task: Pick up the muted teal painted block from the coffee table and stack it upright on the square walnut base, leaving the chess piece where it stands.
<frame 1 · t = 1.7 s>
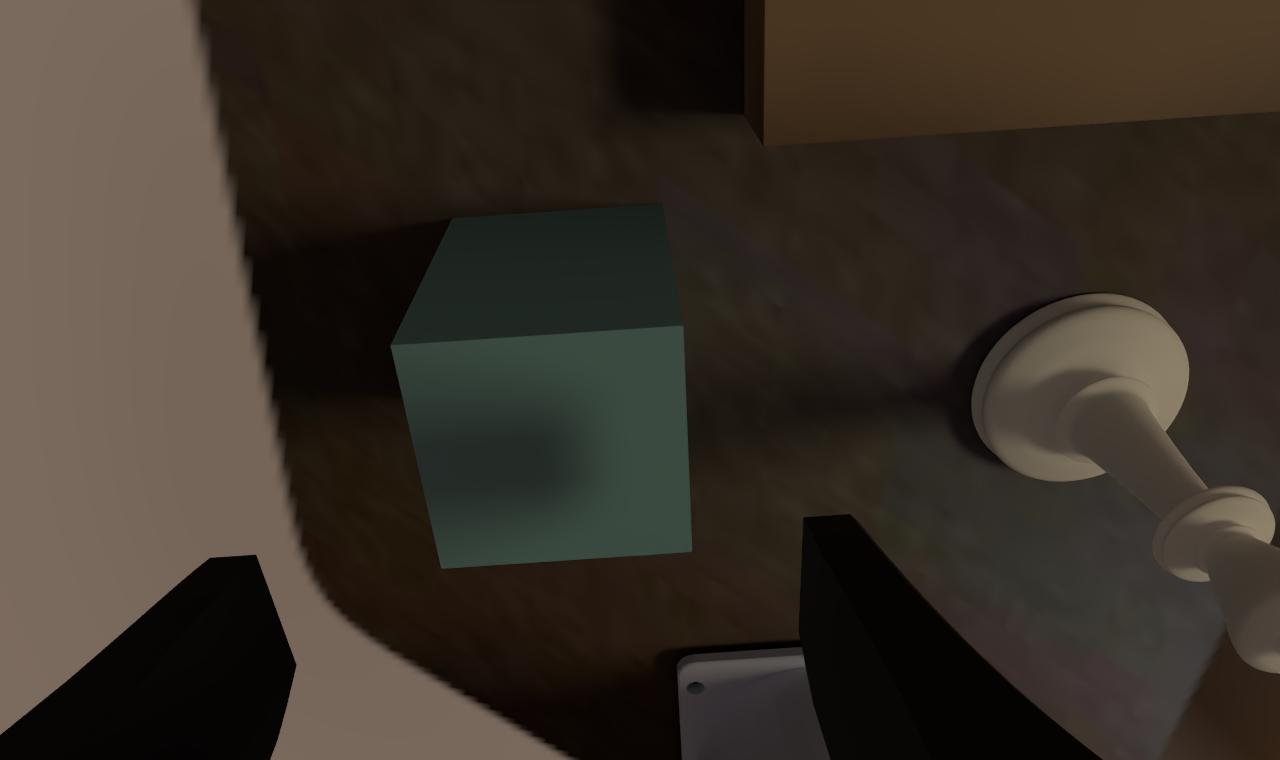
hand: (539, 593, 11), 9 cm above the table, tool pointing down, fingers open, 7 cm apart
chess piece: (1068, 381, 21), on the table
teal block: (568, 306, 19), on the table
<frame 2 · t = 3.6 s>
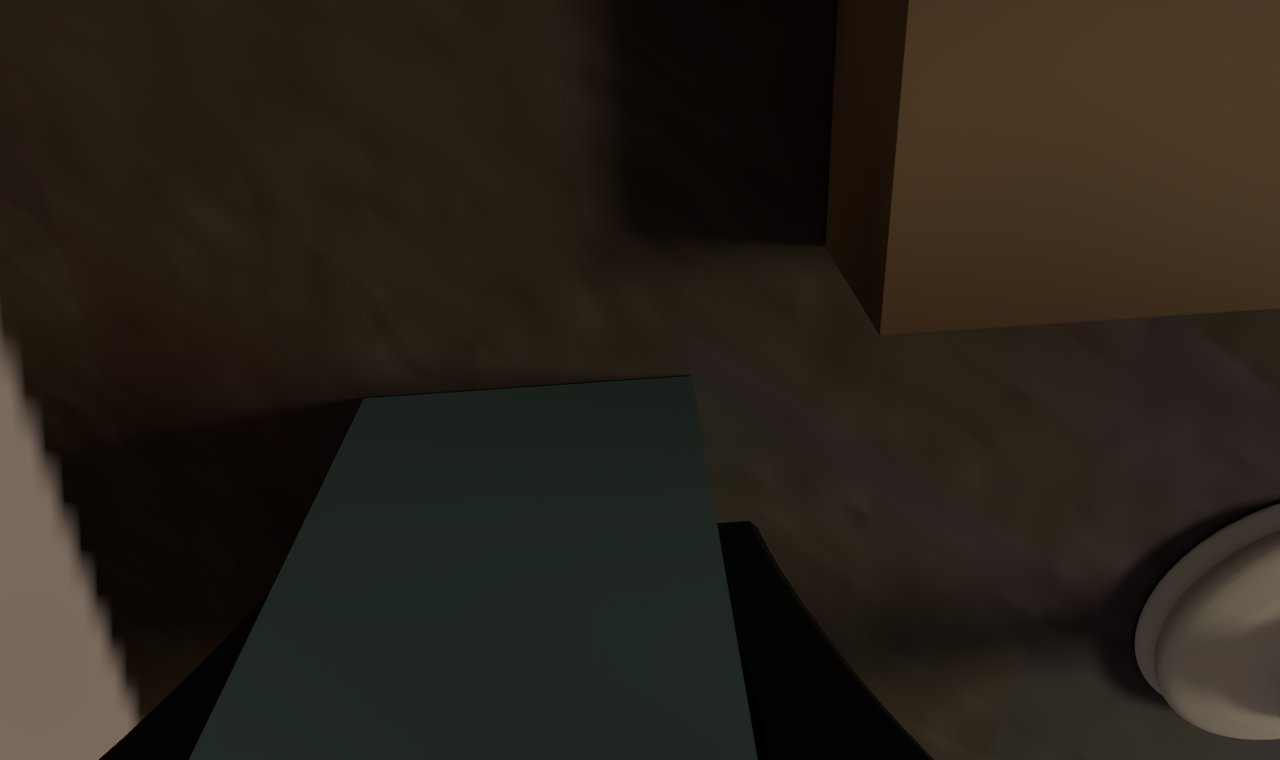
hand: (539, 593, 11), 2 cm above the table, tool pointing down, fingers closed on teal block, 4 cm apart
chess piece: (1275, 600, 15), on the table
teal block: (546, 516, 13), on the table, touching gripper
when the fingers open (5 cm above the table, at t = 8.9 s): teal block stays where it is, resting on walnut base.
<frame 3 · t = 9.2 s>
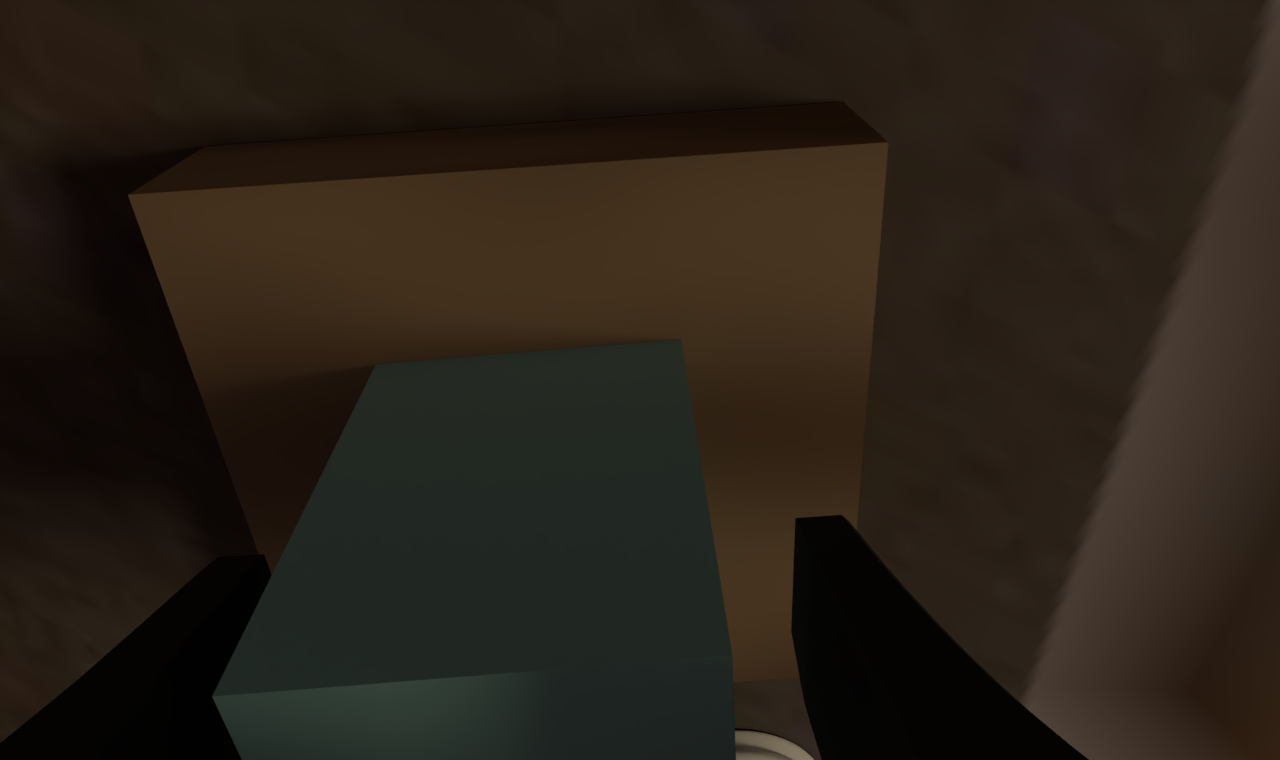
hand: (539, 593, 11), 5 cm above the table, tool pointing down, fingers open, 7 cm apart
walnut base: (558, 397, 16), on the table
teal block: (547, 476, 14), point 2 cm above the table, touching walnut base
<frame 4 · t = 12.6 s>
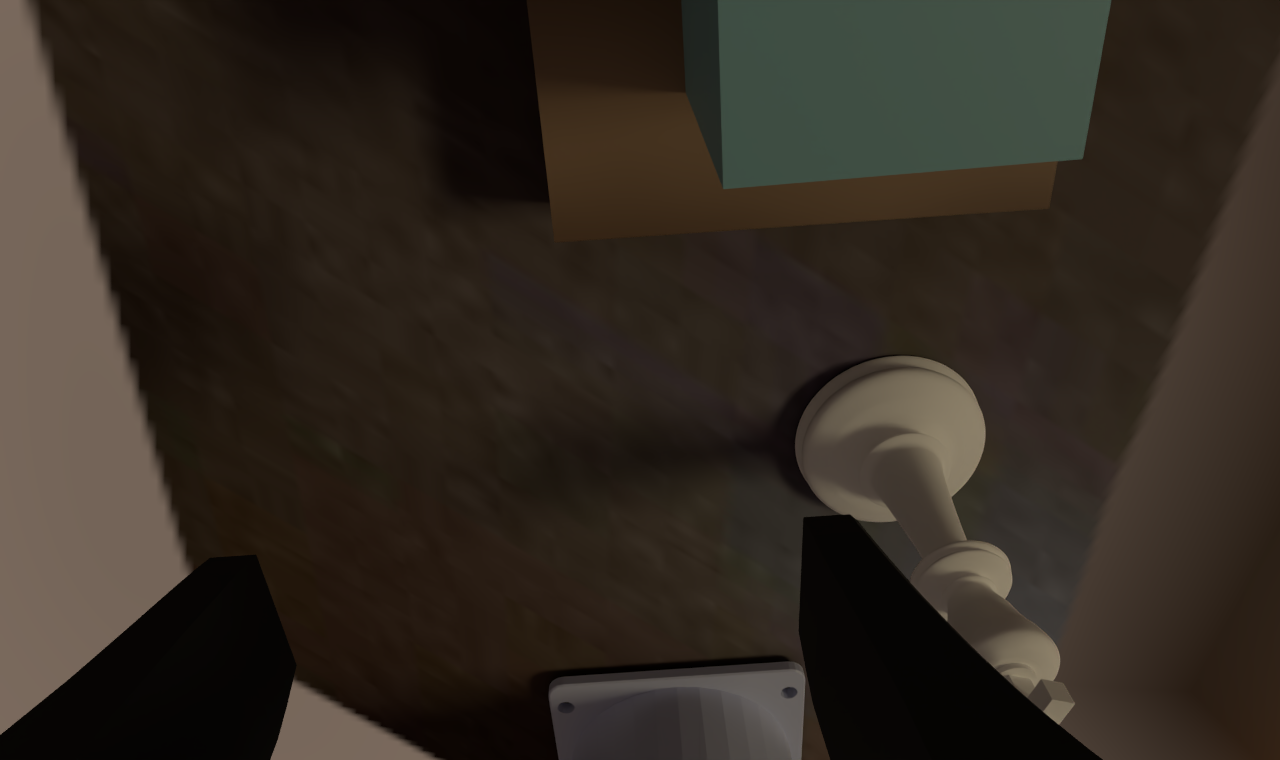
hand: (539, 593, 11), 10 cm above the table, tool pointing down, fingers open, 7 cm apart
chess piece: (884, 431, 23), on the table
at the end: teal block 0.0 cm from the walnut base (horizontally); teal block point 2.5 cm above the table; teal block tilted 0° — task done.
